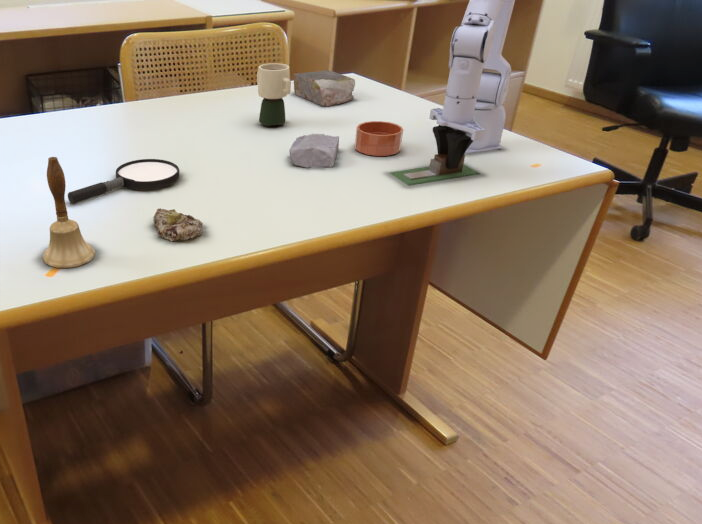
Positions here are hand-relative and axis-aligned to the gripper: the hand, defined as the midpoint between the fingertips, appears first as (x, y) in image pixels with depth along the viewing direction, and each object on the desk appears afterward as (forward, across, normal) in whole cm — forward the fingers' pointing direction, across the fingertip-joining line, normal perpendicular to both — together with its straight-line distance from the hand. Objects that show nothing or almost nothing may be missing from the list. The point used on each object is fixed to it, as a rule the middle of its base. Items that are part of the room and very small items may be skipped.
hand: (447, 165), depth 136 cm
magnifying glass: (+2, -16, -62) cm, 64 cm away
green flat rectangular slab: (+2, 0, -3) cm, 3 cm away
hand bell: (+2, +9, -77) cm, 78 cm away
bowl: (+2, -16, -6) cm, 18 cm away
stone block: (+2, -17, -21) cm, 27 cm away
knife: (+1, 0, -3) cm, 4 cm away
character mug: (+2, -41, -20) cm, 46 cm away
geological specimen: (+2, -57, +2) cm, 57 cm away
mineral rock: (+2, +6, -58) cm, 59 cm away
